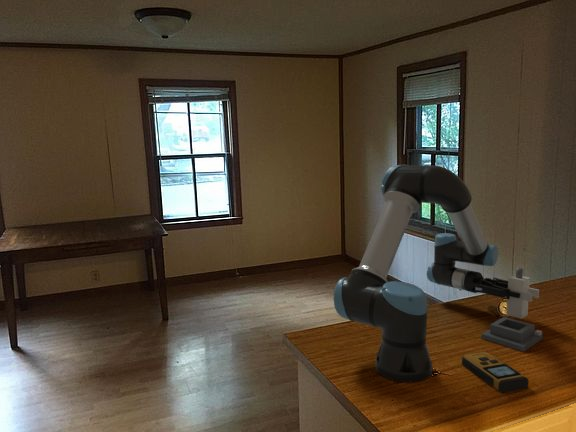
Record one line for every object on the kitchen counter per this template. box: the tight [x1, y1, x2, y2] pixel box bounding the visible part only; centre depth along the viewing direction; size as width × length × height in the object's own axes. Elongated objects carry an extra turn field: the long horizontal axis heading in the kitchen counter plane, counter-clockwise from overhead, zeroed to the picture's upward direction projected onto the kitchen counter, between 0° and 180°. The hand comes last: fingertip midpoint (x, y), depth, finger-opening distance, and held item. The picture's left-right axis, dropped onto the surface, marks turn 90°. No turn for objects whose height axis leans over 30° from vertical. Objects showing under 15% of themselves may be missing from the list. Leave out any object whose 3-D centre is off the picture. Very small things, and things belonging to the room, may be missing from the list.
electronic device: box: [461, 351, 529, 394], centre depth 128 cm, size 9×16×4 cm, turn 15°
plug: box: [505, 267, 531, 319], centre depth 161 cm, size 4×5×16 cm
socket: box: [480, 316, 544, 352], centre depth 150 cm, size 13×13×4 cm
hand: (534, 295), depth 157 cm, fingers closed on plug, 4 cm apart
